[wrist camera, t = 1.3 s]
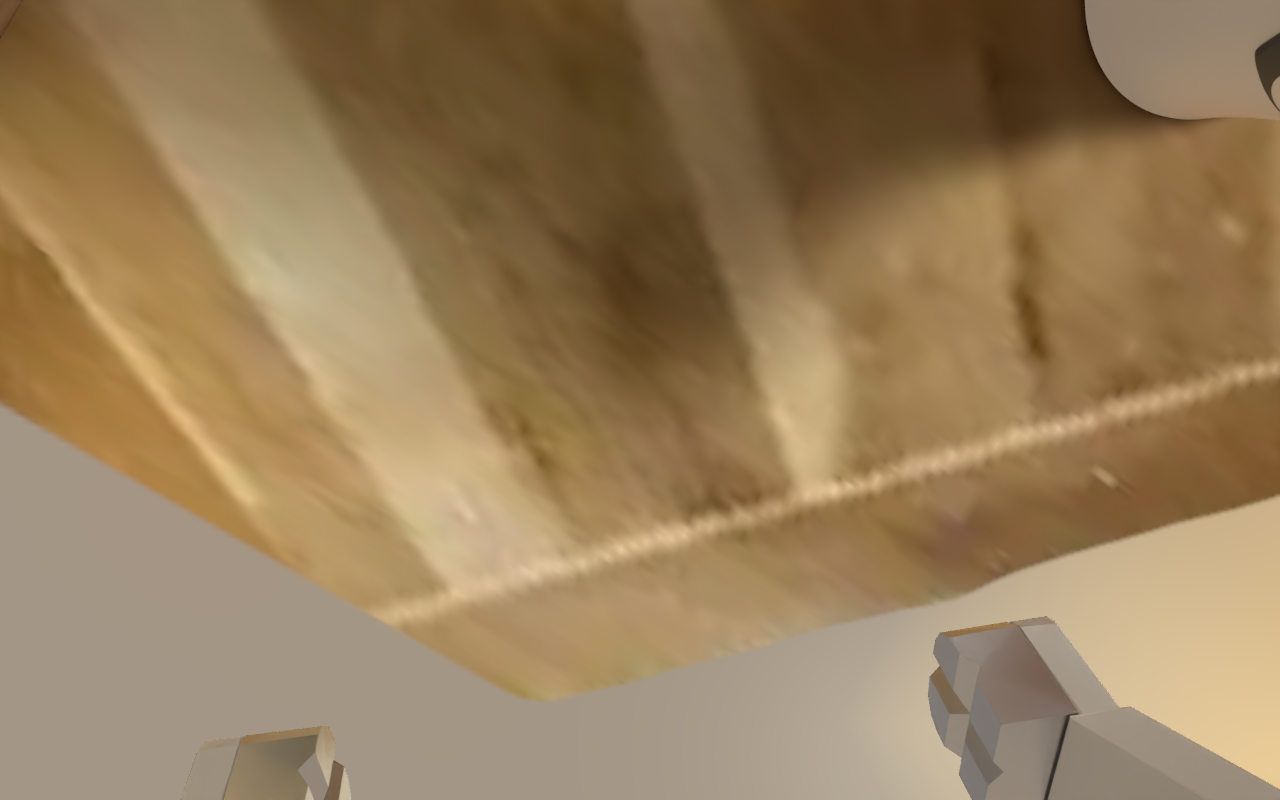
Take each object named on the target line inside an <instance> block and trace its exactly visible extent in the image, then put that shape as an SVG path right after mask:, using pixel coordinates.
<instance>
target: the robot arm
mask: <svg viewBox="0 0 1280 800" xmlns="http://www.w3.org/2000/svg"><path fill="white" fill-rule="evenodd" d="M1085 13H1086V22H1087V28H1088V33H1089V37H1090V41H1091V45H1092V48H1093V50H1094V53H1095V56H1096V58H1097V60H1098V63H1099V65H1100V66H1101V68H1102V70H1103V72H1104V73H1105V75H1106V76H1107V78H1108V79H1109V81H1110V82H1111V83H1112V84H1113V86H1114V87H1115V88H1116V89H1117V90H1118V91H1119V92H1120V93H1121V94H1122V95H1123V96H1124V97H1126V98H1127V99H1128V100H1129V101H1131V102H1132V103H1134V104H1135V105H1137V106H1139V107H1141V108H1143V109H1144V110H1146V111H1149V112H1151V113H1154V114H1157V115H1161V116H1164V117H1169V118H1175V119H1186V120H1189V119H1208V118H1221V117H1244V118H1258V119H1267V120H1275V121H1280V0H1085ZM933 654H934V655H935V658H936V659H937V661H938V663H939V665H940V666H939V667H938V668H937V670H936V671H935V672H934V673H933V674H932V675H931V676H930V680H929V691H928V697H929V704H930V710H931V716H932V718H933V721H934V724H935V727H936V730H937V732H938V734H939V736H940V738H941V740H942V742H943V744H944V746H945V747H946V748H948V749H949V750H951V751H952V752H954V753H955V754H957V755H958V756H960V757H961V758H962V759H961V765H960V772H959V776H960V778H961V780H962V782H963V784H964V785H965V787H966V789H967V791H968V793H969V795H970V797H971V799H972V800H1280V789H1278V788H1276V787H1274V786H1273V785H1271V784H1269V783H1267V782H1266V781H1264V780H1262V779H1260V778H1258V777H1257V776H1255V775H1253V774H1251V773H1249V772H1248V771H1246V770H1244V769H1242V768H1240V767H1238V766H1237V765H1235V764H1233V763H1231V762H1230V761H1228V760H1226V759H1224V758H1222V757H1220V756H1219V755H1217V754H1215V753H1213V752H1211V751H1210V750H1208V749H1206V748H1204V747H1202V746H1201V745H1199V744H1197V743H1195V742H1193V741H1192V740H1190V739H1188V738H1186V737H1184V736H1183V735H1181V734H1179V733H1177V732H1175V731H1174V730H1172V729H1170V728H1168V727H1166V726H1165V725H1163V724H1161V723H1159V722H1157V721H1156V720H1154V719H1152V718H1150V717H1148V716H1147V715H1145V714H1143V713H1141V712H1139V711H1138V710H1136V709H1134V708H1132V707H1123V708H1120V707H1119V706H1118V705H1117V704H1116V702H1115V701H1114V700H1113V698H1112V697H1111V696H1110V694H1109V693H1108V692H1107V690H1106V689H1105V688H1104V686H1103V685H1102V684H1101V682H1100V681H1099V680H1098V678H1097V677H1096V676H1095V674H1094V673H1093V672H1092V670H1091V669H1090V668H1089V666H1088V665H1087V664H1086V663H1085V661H1084V660H1083V659H1082V657H1081V656H1080V655H1079V653H1078V652H1077V651H1076V649H1075V648H1074V647H1073V645H1072V644H1071V643H1070V641H1069V640H1068V639H1067V637H1066V636H1065V635H1064V633H1063V632H1062V631H1061V629H1060V628H1059V627H1058V626H1057V624H1056V623H1055V621H1053V620H1052V619H1050V618H1048V617H1047V616H1045V617H1039V618H1032V619H1026V620H1019V621H1013V622H1010V623H1008V622H1004V623H998V624H991V625H986V626H979V627H973V628H967V629H961V630H954V631H948V632H942V633H940V634H939V635H938V637H937V638H936V640H935V645H934V651H933ZM335 747H336V742H335V740H334V737H333V735H332V732H331V730H330V727H328V726H320V727H312V728H303V729H295V730H287V731H279V732H271V733H263V734H256V735H246V736H243V737H235V738H227V739H219V740H212V741H206V742H205V743H204V744H203V746H202V747H201V748H200V749H199V751H198V752H197V754H196V756H195V759H194V762H193V765H192V768H191V771H190V774H189V776H188V779H187V782H186V785H185V788H184V791H183V794H182V797H181V800H351V792H350V785H349V780H348V776H347V773H346V770H345V767H344V766H343V765H341V764H339V763H338V762H336V761H334V760H333V758H334V753H335Z"/></svg>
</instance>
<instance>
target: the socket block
mask: <svg viewBox="0 0 1280 800" xmlns="http://www.w3.org/2000/svg"><path fill="white" fill-rule="evenodd" d="M21 1H22V0H0V38H1V36H2V34H3V32H4V31H5V29H6V27H7V26H8V24H9V22H10V20H11V19H12V17H13V15H14V13H15V12H16V10H17V8H18V6H19V5H20V3H21Z"/></svg>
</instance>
